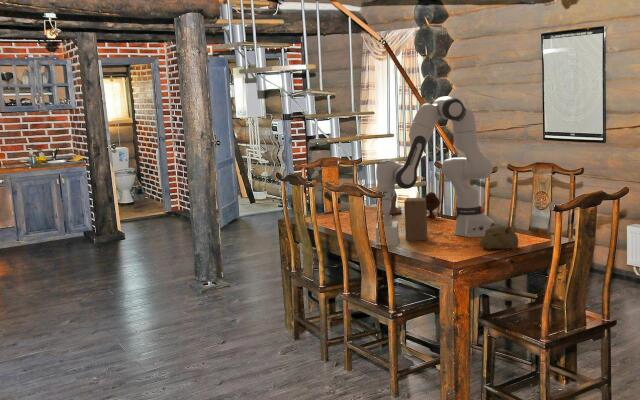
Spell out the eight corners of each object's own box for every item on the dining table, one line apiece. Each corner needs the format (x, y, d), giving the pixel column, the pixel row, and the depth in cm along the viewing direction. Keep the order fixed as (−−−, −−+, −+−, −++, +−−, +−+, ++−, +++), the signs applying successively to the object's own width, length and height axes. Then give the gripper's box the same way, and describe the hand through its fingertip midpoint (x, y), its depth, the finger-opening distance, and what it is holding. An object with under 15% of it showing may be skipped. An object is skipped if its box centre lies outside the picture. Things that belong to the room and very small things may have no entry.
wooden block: (425, 240, 345) (424, 200, 342) (405, 240, 347) (404, 201, 344) (427, 236, 355) (426, 197, 351) (407, 236, 357) (406, 197, 354)
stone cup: (381, 217, 411) (380, 192, 408) (375, 214, 422) (374, 189, 420) (406, 215, 414) (405, 190, 411) (399, 211, 425) (398, 187, 423)
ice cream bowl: (443, 216, 403) (442, 190, 401) (435, 219, 394) (435, 193, 392) (426, 215, 409) (425, 190, 406) (418, 218, 400) (417, 193, 397)
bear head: (472, 248, 323) (474, 223, 321) (502, 245, 331) (503, 221, 330) (493, 253, 311) (494, 227, 309) (522, 250, 319) (524, 225, 318)
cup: (378, 238, 356) (377, 213, 353) (398, 238, 354) (397, 212, 352) (376, 245, 341) (375, 219, 339) (397, 245, 339) (396, 218, 337)
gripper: (381, 189, 354) (382, 216, 356) (378, 196, 334) (379, 224, 336) (393, 189, 353) (394, 215, 355) (391, 195, 333) (392, 224, 335)
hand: (387, 220), depth 346 cm, fingers open, 5 cm apart
